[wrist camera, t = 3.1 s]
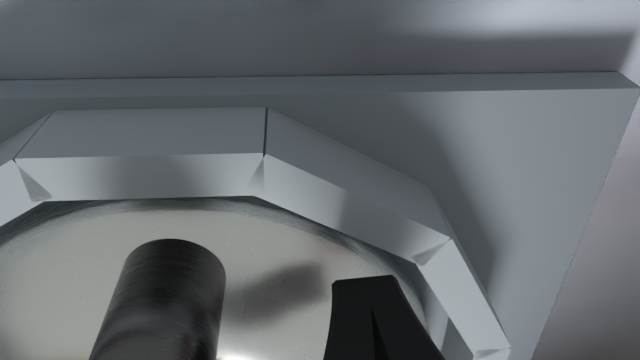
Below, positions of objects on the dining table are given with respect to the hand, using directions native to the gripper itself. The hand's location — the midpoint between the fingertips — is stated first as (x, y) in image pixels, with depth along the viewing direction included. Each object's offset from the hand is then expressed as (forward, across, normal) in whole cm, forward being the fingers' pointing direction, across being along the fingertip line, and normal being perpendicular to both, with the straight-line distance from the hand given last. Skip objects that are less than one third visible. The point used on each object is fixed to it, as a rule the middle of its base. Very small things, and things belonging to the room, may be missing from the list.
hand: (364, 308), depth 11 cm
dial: (+2, +5, +5) cm, 7 cm away
